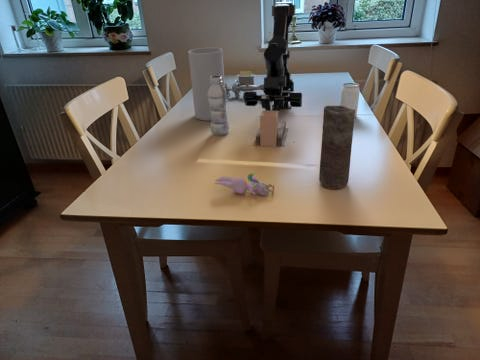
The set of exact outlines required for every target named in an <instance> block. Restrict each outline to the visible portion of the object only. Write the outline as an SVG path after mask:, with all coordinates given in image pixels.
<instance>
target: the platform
mask: <svg viewBox="0 0 480 360" xmlns="http://www.w3.org/2000/svg"><path fill="white" fill-rule="evenodd" d="M237 77H238V81H239V83H240V85H246V84H249V85H255V80H254V79H255V77H256V74H255V73H252V71H245V70H244V71H240V72H239V74H236V78H237Z"/></svg>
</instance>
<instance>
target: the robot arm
mask: <svg viewBox="0 0 480 360" xmlns="http://www.w3.org/2000/svg"><path fill="white" fill-rule="evenodd" d="M295 16H296V4H293V1H279V2H275V5H271V17H273V21H274V22H273V32H272V38H271V39H270V40H269V41H268V45H267V47H266V49H265V50H264V52H263V59H264V63H265V68H266V69H265V70H266V76H265V77H264V78H263V84H264V87H263V88H264V89H263V90H262V91H263V94H262V93H261V95H258V93H257V90H254V91H244V92H243V95H242V99H243V102H244V105H245V106H246V107H256V106H257V105H258V102H260V105H261V108H262V109H264V110H268V111H278V113H279V112H280V111H281V110H287V109H292V108H301V107H302V105H303V93H302V92H301V91H294V89H295V83H294V81H293V78H292V74H291V72H290V70H289V68H288V60H289V59H290V57H291V52H290V49H289V32H290V31H289V30H290V26H291V25H292V23H293V21H294V17H295ZM272 102H273V104H271V103H272Z"/></svg>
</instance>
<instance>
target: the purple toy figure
mask: <svg viewBox="0 0 480 360" xmlns="http://www.w3.org/2000/svg"><path fill="white" fill-rule="evenodd" d="M254 176H255V174H254V173H249V174H247V180H248V181H249V182H250V184H248V182H247V180H246V179H245V178H242V177H235V178H234V177H231V176H230V177H229V176H221V177H219V178H216V179H215V180H214V181H215V182H214V183H213V184H214V185H221V186H224V187H226V188H229V189H231V190H232V191H233V192H234V193H237V194H240V195H243V194H244V193H246V192H247V190H248V191H249V192H250V193H251V194H252V195H253V196H254V195H256V194H259V195H260V196H262V197H266V196H268V194H269V193H270V192H271V196H272V197H274V195H275V194H274V193H275V185H272V184H270V183H269V184H267V183H265V182H263V181H261V182H260V181H259V179H257V178H256V177H254ZM269 188H272V190H271V189H269Z"/></svg>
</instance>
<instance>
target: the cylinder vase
mask: <svg viewBox="0 0 480 360" xmlns="http://www.w3.org/2000/svg"><path fill="white" fill-rule="evenodd" d="M223 54H224V53H223V49H222V48H220V47H204V48H203V47H200V48H193V49H190V50H188V62H189V63H188V64H189V72H190V80H191V89H192V90H191V91H192V99H193V108H194V109H193V110H194V116H195V118H196V119H197V120H200V121H205V122H206V121H207V122H208V121H210V122H211V109H210V103H209V99H208V90H209V88H210V86H211V82H210V81H211V76H221V77H222V83H221V84H222V85H223V86H224V88H225V83H226V82H225V71H224V69H225V67H224V55H223Z"/></svg>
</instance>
